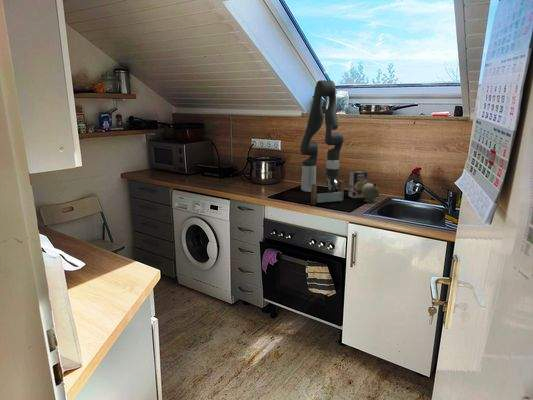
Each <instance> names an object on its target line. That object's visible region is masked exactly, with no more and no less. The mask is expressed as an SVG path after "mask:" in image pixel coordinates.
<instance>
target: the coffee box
mask: <svg viewBox="0 0 533 400" xmlns="http://www.w3.org/2000/svg"><path fill="white" fill-rule="evenodd" d="M367 181H368V172H367V171H363V170H359V171H358V170H356V171H355V170H354V171H351V170H350V171H349V183H348V185H349V186H348V195H347V196H348V197H350V198H352V199H360V198H361V199H362V198H365V197H364V196H363V194H362V187H363V186H364V185H365V182H366V183H368V182H367Z"/></svg>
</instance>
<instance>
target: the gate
mask: <svg viewBox="0 0 533 400" xmlns="http://www.w3.org/2000/svg"><path fill="white" fill-rule="evenodd" d="M341 198H342V192H338V191H337V192H336V191H333V193H329V192H324V193H316V204H317V203H329V202H342V201H341Z"/></svg>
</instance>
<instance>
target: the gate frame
mask: <svg viewBox="0 0 533 400" xmlns="http://www.w3.org/2000/svg"><path fill="white" fill-rule="evenodd" d="M337 182H338V186H337V192H342V198H341V201H340V202H342V201H344V193H345V192H344V191H345V181H344V180H338V181H337ZM317 185H318V184H317V183H316V184H312V186H311V192H310V205H312V206H315V205H316V206H317V202H316V194H317V187H318V186H317Z"/></svg>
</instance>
